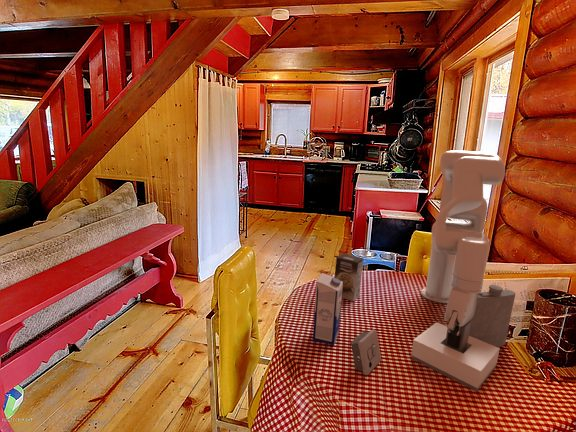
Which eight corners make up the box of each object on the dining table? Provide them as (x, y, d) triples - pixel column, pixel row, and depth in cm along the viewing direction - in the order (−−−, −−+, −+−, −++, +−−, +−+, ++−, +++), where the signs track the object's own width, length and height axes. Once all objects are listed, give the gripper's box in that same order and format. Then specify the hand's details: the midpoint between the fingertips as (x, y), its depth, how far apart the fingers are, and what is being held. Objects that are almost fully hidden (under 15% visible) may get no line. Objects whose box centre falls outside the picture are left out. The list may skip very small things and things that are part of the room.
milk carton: (318, 329, 116) (322, 272, 111) (338, 333, 113) (343, 275, 109) (312, 340, 109) (316, 280, 104) (333, 345, 107) (338, 284, 102)
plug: (450, 346, 104) (455, 315, 101) (465, 353, 101) (471, 321, 98) (443, 352, 101) (448, 320, 98) (459, 359, 98) (465, 326, 95)
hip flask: (499, 339, 115) (510, 281, 110) (509, 346, 111) (522, 287, 106) (458, 345, 110) (468, 285, 106) (467, 352, 106) (479, 291, 102)
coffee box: (332, 295, 140) (335, 257, 137) (339, 289, 146) (342, 252, 142) (354, 301, 136) (357, 262, 132) (360, 295, 141) (363, 257, 137)
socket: (433, 339, 113) (436, 322, 111) (495, 367, 100) (499, 348, 99) (410, 358, 103) (413, 339, 101) (476, 391, 90) (480, 371, 89)
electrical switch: (366, 377, 94) (366, 345, 92) (349, 370, 97) (349, 339, 95) (381, 361, 101) (381, 330, 99) (364, 355, 104) (365, 325, 102)
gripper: (464, 271, 104) (454, 327, 108) (439, 286, 93) (430, 348, 97) (492, 279, 99) (481, 337, 103) (469, 296, 87) (458, 361, 92)
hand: (456, 342), depth 100 cm, fingers closed on plug, 4 cm apart
